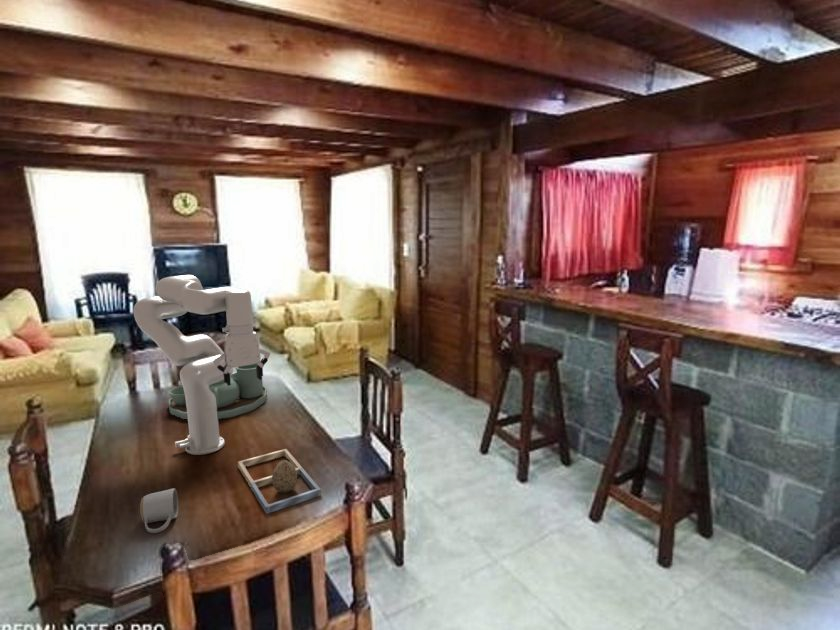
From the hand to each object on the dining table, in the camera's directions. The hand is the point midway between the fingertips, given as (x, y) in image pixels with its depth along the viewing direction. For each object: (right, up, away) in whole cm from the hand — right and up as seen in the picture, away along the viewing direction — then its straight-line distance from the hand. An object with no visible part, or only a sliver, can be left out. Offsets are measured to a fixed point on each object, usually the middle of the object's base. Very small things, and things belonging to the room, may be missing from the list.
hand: (244, 381), depth 153 cm
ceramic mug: (-13, -34, -25) cm, 44 cm away
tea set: (-32, -18, +57) cm, 67 cm away
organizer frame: (+12, -30, -5) cm, 33 cm away
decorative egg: (+16, -31, -11) cm, 37 cm away
